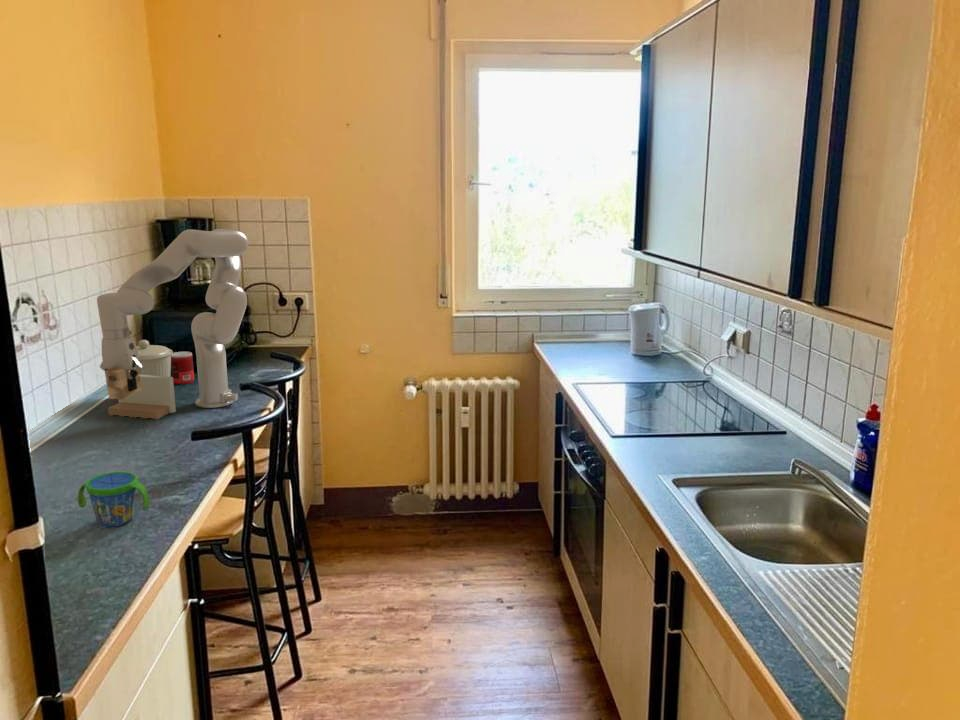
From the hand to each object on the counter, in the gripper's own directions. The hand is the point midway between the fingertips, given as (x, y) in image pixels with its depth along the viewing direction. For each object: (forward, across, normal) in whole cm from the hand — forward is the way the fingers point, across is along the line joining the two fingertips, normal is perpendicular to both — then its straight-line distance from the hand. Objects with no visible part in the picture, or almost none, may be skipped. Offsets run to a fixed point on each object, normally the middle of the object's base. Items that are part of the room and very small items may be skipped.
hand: (125, 389), depth 239 cm
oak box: (+2, 0, 0) cm, 2 cm away
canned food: (+13, +12, -46) cm, 50 cm away
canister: (+12, +11, -24) cm, 29 cm away
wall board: (+12, +3, -9) cm, 15 cm away
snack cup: (+10, -42, +61) cm, 75 cm away
